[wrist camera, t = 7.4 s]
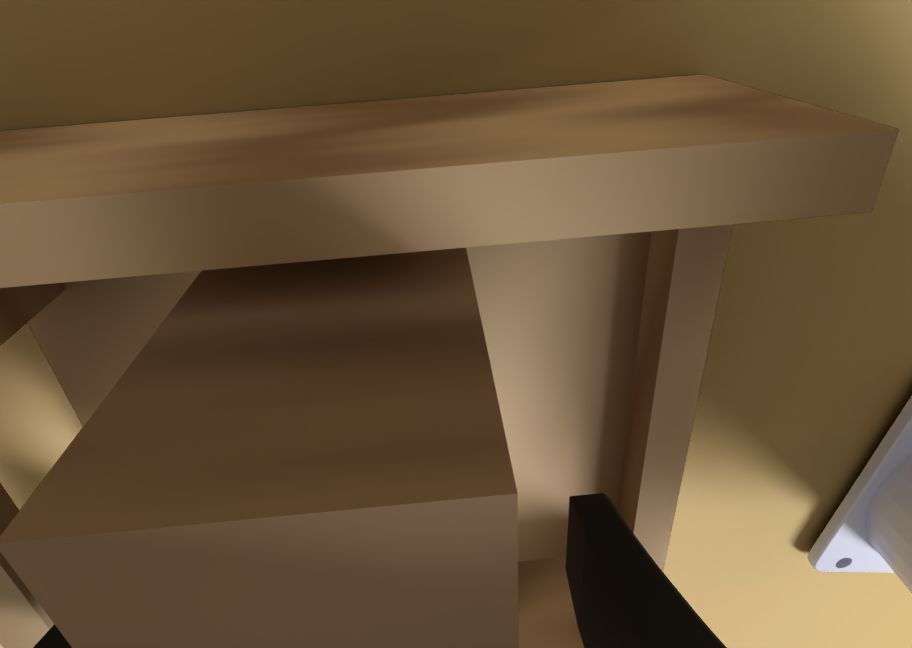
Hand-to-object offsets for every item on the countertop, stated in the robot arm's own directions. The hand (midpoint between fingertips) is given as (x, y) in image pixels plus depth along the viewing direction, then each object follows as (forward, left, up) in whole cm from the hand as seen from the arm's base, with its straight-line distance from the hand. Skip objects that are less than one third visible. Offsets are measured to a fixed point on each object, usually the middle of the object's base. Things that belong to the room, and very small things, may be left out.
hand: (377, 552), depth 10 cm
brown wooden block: (0, 0, -2) cm, 2 cm away
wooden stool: (0, 0, -5) cm, 5 cm away
